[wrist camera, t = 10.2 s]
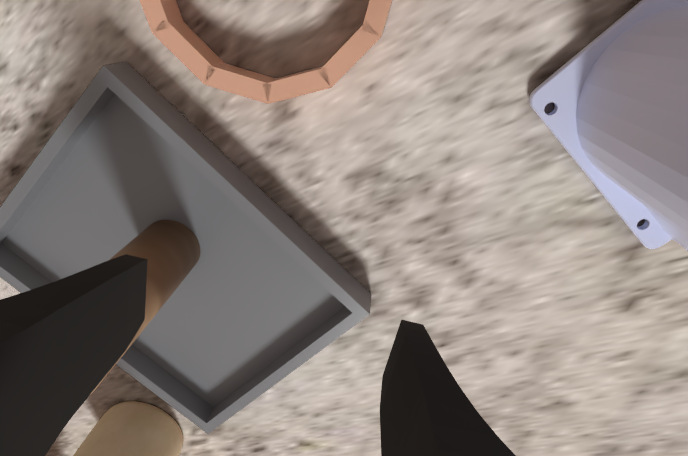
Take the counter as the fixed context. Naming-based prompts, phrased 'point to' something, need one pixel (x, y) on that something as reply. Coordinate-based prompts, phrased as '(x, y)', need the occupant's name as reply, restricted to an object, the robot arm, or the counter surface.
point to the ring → (249, 84)
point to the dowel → (162, 263)
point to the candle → (133, 433)
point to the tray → (209, 228)
